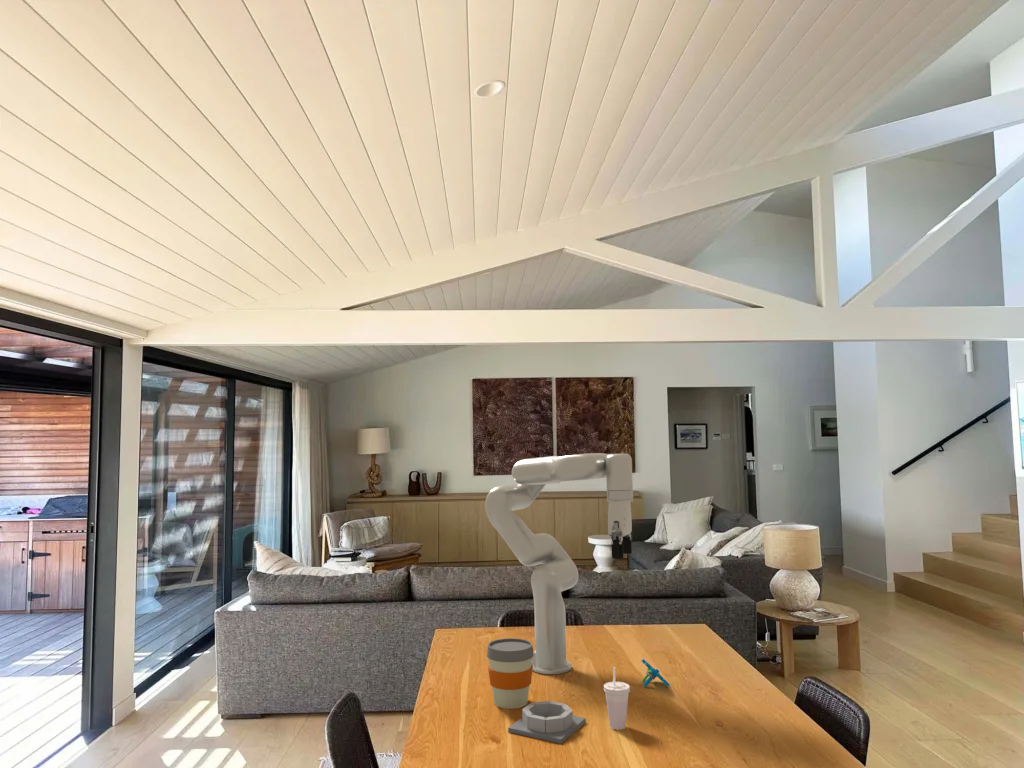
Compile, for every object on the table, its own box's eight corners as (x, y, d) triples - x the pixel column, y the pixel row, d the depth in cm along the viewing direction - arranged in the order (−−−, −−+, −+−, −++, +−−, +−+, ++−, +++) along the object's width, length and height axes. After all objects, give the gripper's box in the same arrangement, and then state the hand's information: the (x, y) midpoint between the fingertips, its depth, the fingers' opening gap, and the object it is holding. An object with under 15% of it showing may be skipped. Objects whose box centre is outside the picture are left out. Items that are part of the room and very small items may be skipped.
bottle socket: (508, 732, 167) (507, 714, 168) (535, 712, 179) (535, 695, 180) (561, 743, 160) (560, 725, 161) (585, 722, 173) (585, 705, 173)
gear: (675, 686, 192) (648, 659, 194) (661, 703, 191) (634, 676, 193) (666, 678, 203) (640, 653, 204) (652, 694, 202) (627, 669, 203)
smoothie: (601, 722, 172) (600, 663, 174) (627, 721, 173) (625, 662, 174) (607, 733, 166) (606, 672, 167) (634, 731, 167) (632, 671, 168)
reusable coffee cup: (540, 696, 190) (539, 640, 192) (525, 713, 179) (525, 653, 180) (496, 691, 194) (496, 636, 196) (480, 708, 183) (479, 649, 184)
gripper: (615, 494, 213) (617, 551, 212) (599, 498, 197) (601, 560, 196) (639, 494, 210) (641, 552, 209) (625, 498, 194) (627, 561, 193)
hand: (622, 555), depth 202 cm, fingers open, 9 cm apart
